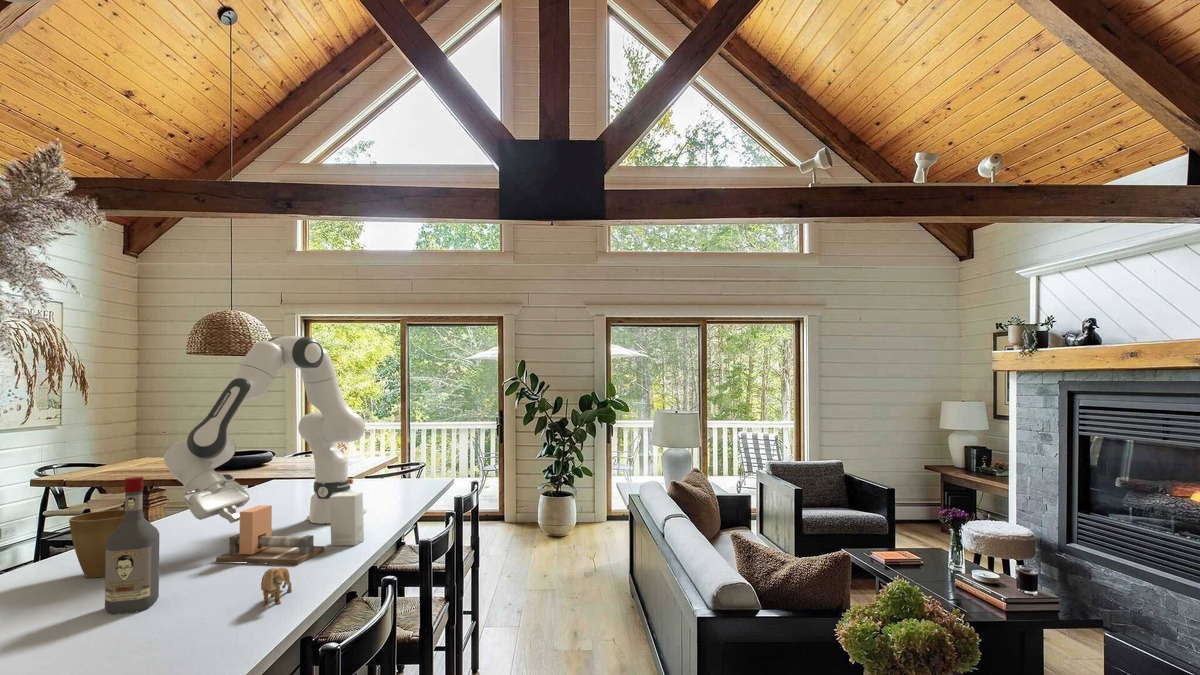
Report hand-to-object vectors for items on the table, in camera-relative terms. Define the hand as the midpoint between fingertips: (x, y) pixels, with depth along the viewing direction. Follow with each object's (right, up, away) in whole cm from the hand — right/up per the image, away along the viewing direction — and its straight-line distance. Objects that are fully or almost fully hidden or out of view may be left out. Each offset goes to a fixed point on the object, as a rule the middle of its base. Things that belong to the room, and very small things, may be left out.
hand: (236, 520), depth 198 cm
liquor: (-2, -9, -41) cm, 42 cm away
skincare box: (+28, -11, +12) cm, 33 cm away
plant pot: (-28, -10, -16) cm, 34 cm away
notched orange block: (+6, -8, -1) cm, 11 cm away
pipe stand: (+11, -10, -2) cm, 15 cm away
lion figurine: (+31, -9, -38) cm, 50 cm away
